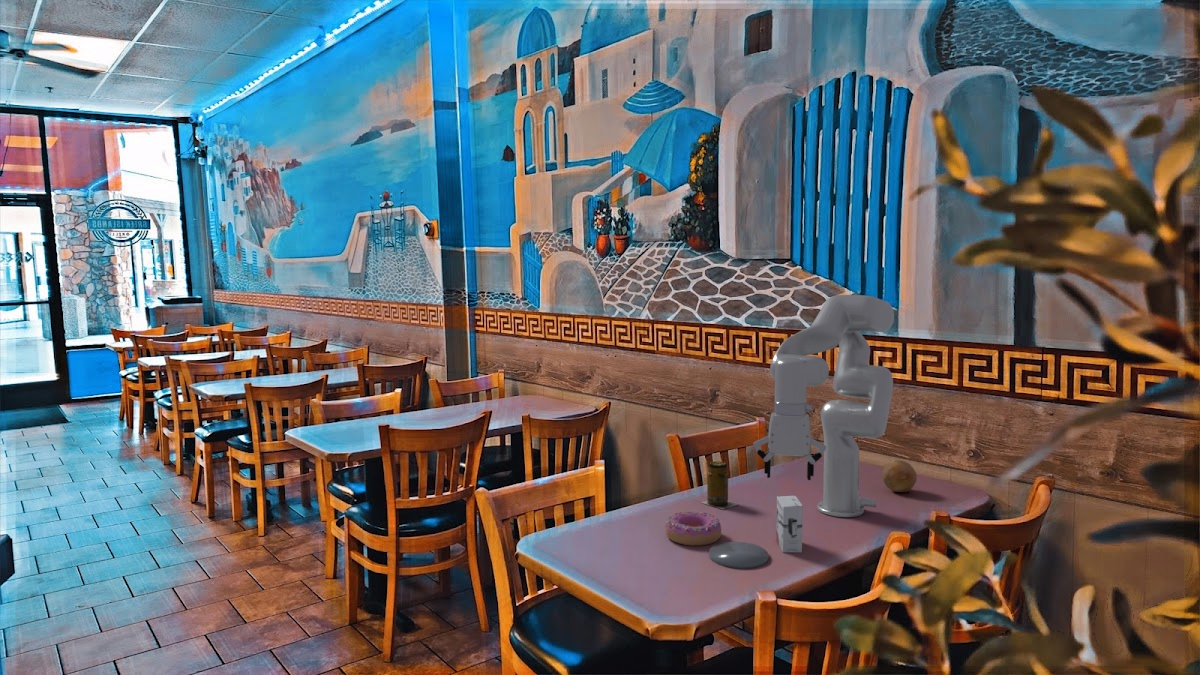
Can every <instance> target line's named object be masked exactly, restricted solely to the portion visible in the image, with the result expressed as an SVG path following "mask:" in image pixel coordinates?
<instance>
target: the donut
mask: <svg viewBox="0 0 1200 675" xmlns="http://www.w3.org/2000/svg"><path fill="white" fill-rule="evenodd" d="M664 527H665V534H666V536H667V537H668V538H669V539H670V540H671V541H673V542H675V543H676V544H681V545H685V546H691V547H693V546H695V547H698V546H699V547H701V546H705V545H706V546H707V545H711V544H714V543H716V542H718V540H719V539H720V538H721V534H722V526H721V522H720V519H719V518H717V517H716V515H712V514H710V513H706V512H700V511H695V512H693V511H684V512H677V513H674V514H672V515H671V516H668V518H667V520H666V522H665V526H664Z"/></svg>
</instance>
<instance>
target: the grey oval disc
mask: <svg viewBox="0 0 1200 675" xmlns="http://www.w3.org/2000/svg"><path fill="white" fill-rule="evenodd" d="M708 552H709V554H708V556H709V559H710V560H711V561H713V563H716V564H717V565H720V566H723V567H727V568H731V569H754V568H757V567H761V566H763V565H765V564H767V562H768V561H769V553H768V550H766V549H765V548H763V547H762V546H760V545H757V544H754V543H752V542H751V543H749V542H743V541H727V542H725V541H724V542H719V543H716V544H714V545H712V546H711V547H710V548H709V551H708Z"/></svg>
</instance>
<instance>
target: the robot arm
mask: <svg viewBox="0 0 1200 675" xmlns="http://www.w3.org/2000/svg"><path fill="white" fill-rule="evenodd" d="M894 320H895V311H894V308H893V306H892V305H891V304H890V303H889V302H888V301H885V300H883V299H880V298H877V297H875V296H872V295H871V296H870V295H862V294H861V295H859V294H837V295H832V296H830V297H829V298H828V299H826V301H825V302H824V304H823V306H822V307H821V308H820V311H819V312H818V314H817V315H816V317H815V319H814V320H813V322H812V324H811V325H810V326H808V327H807V328H804V329H802V330H800V331H798V332H797V333H794V334H793V335H791V336H789V337H788V338H786V339H785V340H784V341H783V342H782V343H781V344H780V345H779V347H778V349H777V350H776V351H775V354H774V355H773V357H772V359H771V362H770V366H769V367H770V368H769V371H770V372H769V373H770V375H771V377H772V379H773V381H774V409H773V410H774V412H771V413H770V419H769V422H768V424H769V425H768V435H766V436H764V437H762V438H760V439H758V440H756V441H754V442H753V444H752V445H753V447H754V449H755V451H756V453H757V455H758V456H759V457H760V458H761V459H762V460H763V461H764V474H765V475H767V476H766V478H767V479H770V478H771V458H773V456H774V455H775V456H788V457H789V456H790V457H805V458H806V460H808V461H807V462H806V465H807V466H806V479H807V480H808V481H812V480H811V479H812V478H811V477H814V476H815V474H814V472H815V471H814V468H815V464H816V462H818V461H819V460H820V459H821V458H822V456H823V489H822V491H823V495H822V496H823V497H822V500H821V501H819V502H818V503H817V505H816V506H817V510H818V511H819V512H820V513H822V514H824V515H827V516H831V517H837V518H855V517H860V516H861V515H863V514H864V512H865V507H869V508H877V500H875V499H871V498H869V497H865V498H864V497H862V496H860V494H859V489H860V488H859V485H860V484H859V482H860V481H859V480H860V478H859V477H860V448H859V446H858V444H857V442H856V440H855V438H854V437H859V438H865V439H866V438H867V439H873V440H874V439H880V438H881V437H883V435H884V434H885V432H886V429H887V427H888V426H887V425H888V420H889V414H890V409H891V408H890V407H891V401H892V395H893V389H894V388H893V387H894V378H893V374H892V372H891V371H890V369H889V368H887V367H885V366H881V365H873V364H872V365H871V364H869V363H870V356H871V347H870V344H869V342H868V341H867V340H866V338H865V337H864V336H863V334H862V333H861V332H869V333H870V332H871V333H873V332H875V333H886V332H887V331H890V329H891V328H892V326H893V325H894ZM836 347H838V354H837V360H836V363H835V364H836V365H835V370H834V375H833V384H832V386H833V390H834V392H835V393H836V394H837V395H839V396H842V397H847V398H854V399H855V398H856V399H864V400H869V401H870V402H863V401H854V400H853V401H852V400H847V399H845V400H844V399H832V400H829V401H827V402H826V403H824V404H823V406H822V408H821V410H820V420H821V427H822V431H823V432H822V434H823V443H822V442H820V441H817V440H816V439H814V438H812V434H811V430H812V429H811V421H810V420H811V419H810V415H809V414H808V413H807V412H809V411H811V412H812V411H813V405H812V404H808V403H807V389H808V388H807V387H818V386H822V384H824V383H825V382H826V381H827V380H828V377H829V375H830V374H829V373H830V368H829V364H828V363H827V361H826V360H825V359H824V358H822V357H819V356H814V354H820V353H824V352H827V351H830V350H833V349H835V348H836ZM765 444H767V448H768V451H766V452H765V451H764V450H763V449H762V448H761V447H762V445H765ZM812 446H813V447H816V448H817V449H818V450H817V452H816V453H815V454H813V455H812V454H811V450H812Z"/></svg>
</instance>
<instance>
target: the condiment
mask: <svg viewBox="0 0 1200 675" xmlns="http://www.w3.org/2000/svg"><path fill="white" fill-rule="evenodd" d="M727 467H728V464H727V463H726V462H725V461H711V462H709V463H708V472H707V473H706V474H707V475H706V476H707V478H706V479H707V482H706V484H707V487H706V488H707V491H706V492H707V493H706V494H707V496H706V499H707V500H705V501H701V502H700V504H701V503H702V504H704V505H706V506H710V507H714V508H717V509H720V510H724V509H727V508H728V509H729V508H733V507H734V506H737V505H739V503H737V502H733V501H731V500H729V472H728V468H727Z"/></svg>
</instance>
